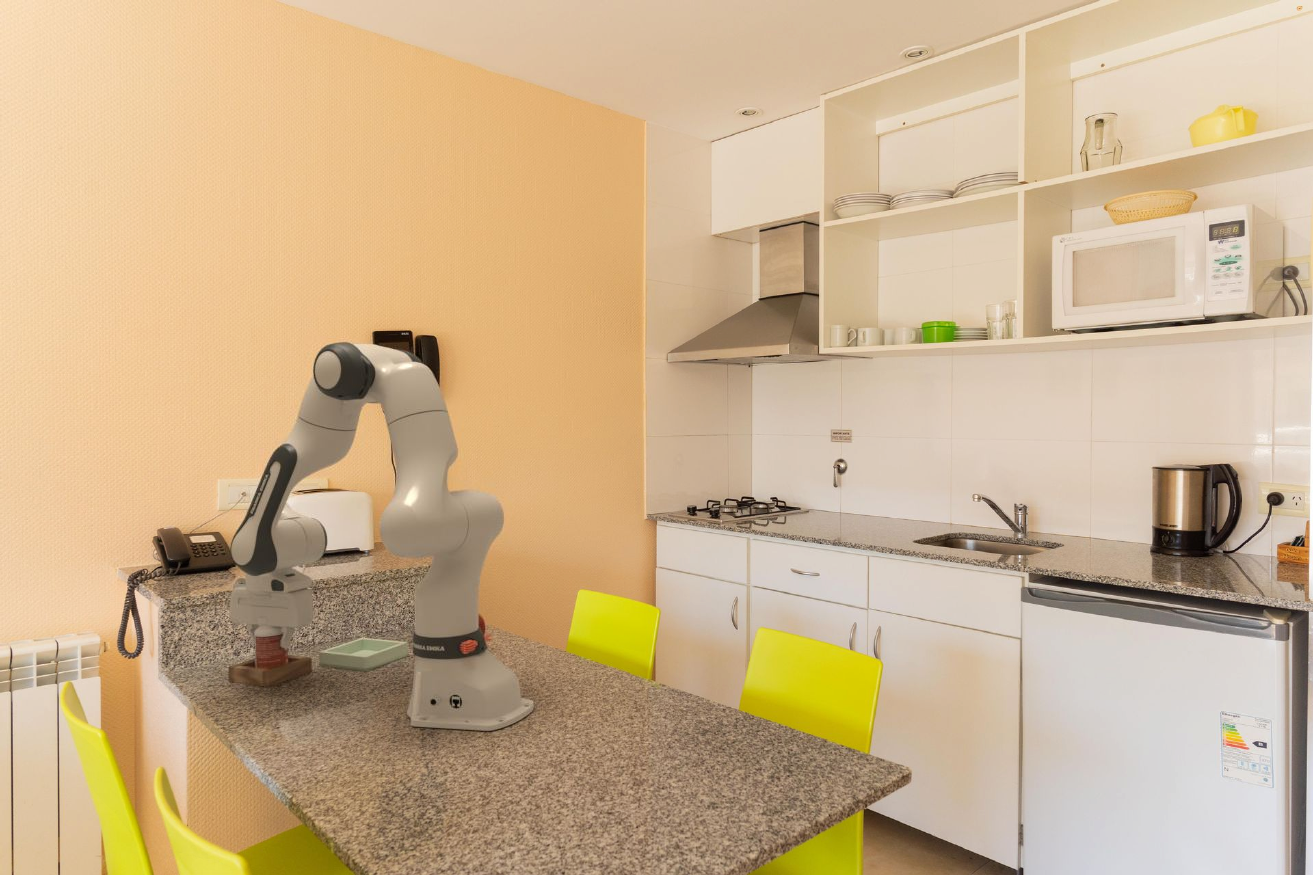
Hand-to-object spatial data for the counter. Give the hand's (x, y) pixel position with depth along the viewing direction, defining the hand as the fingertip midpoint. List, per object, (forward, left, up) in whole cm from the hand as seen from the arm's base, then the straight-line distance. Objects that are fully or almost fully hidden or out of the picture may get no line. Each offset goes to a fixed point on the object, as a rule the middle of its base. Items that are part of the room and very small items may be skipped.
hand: (271, 646), depth 167 cm
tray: (-10, -16, -6) cm, 20 cm away
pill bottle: (0, 0, -5) cm, 5 cm away
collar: (0, 0, -6) cm, 6 cm away
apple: (-28, -28, -7) cm, 40 cm away
